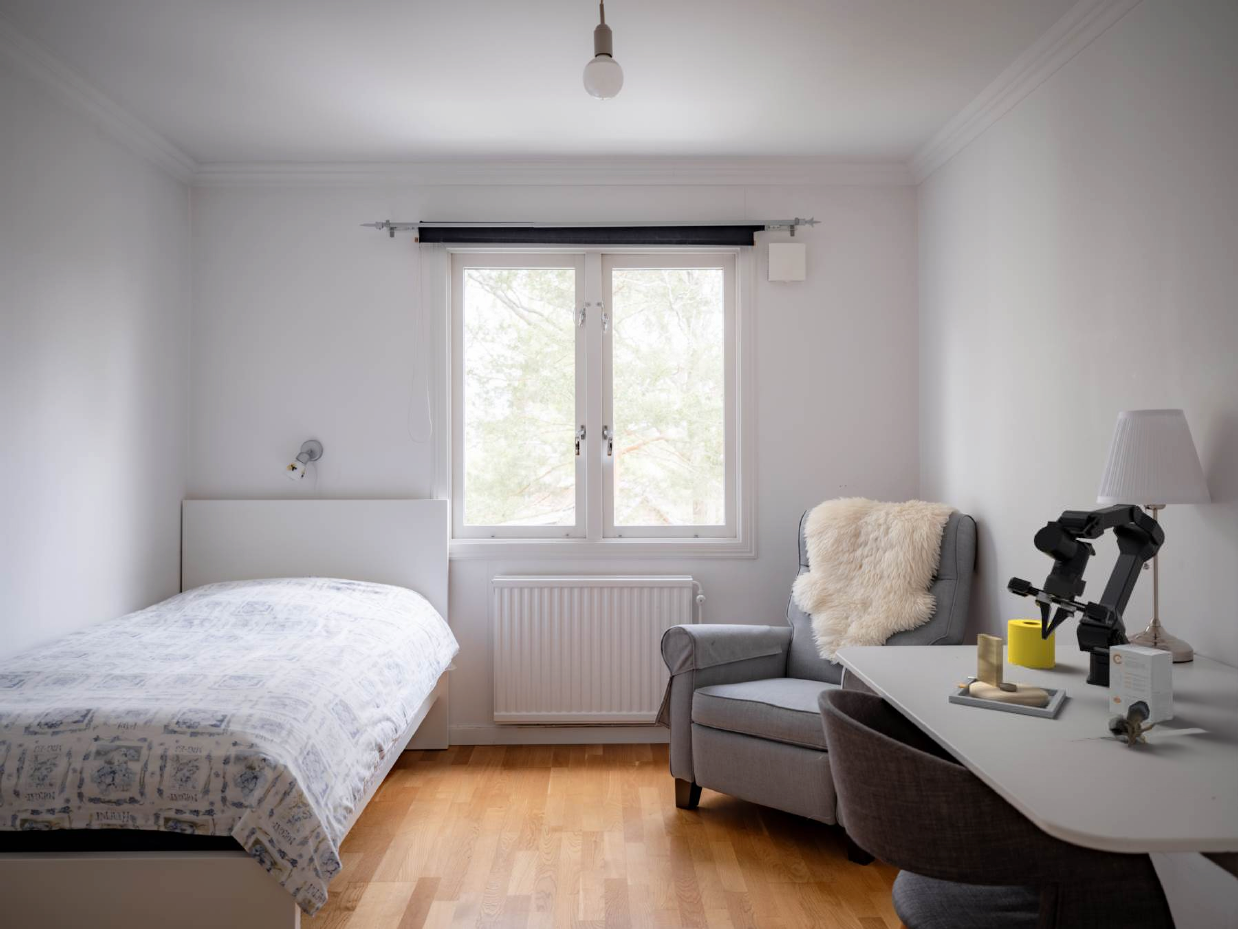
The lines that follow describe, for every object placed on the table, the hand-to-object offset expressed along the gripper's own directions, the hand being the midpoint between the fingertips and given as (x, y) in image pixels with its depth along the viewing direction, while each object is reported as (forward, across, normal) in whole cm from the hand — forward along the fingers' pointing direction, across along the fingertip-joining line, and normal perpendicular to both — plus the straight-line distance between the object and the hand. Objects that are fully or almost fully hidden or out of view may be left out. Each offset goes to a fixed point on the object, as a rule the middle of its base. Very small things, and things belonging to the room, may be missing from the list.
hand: (1043, 639), depth 173 cm
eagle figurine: (+14, +19, -20) cm, 31 cm away
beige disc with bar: (+14, -2, -8) cm, 16 cm away
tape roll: (+4, -4, +30) cm, 30 cm away
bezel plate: (+15, -2, -7) cm, 17 cm away
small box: (+9, +20, -6) cm, 23 cm away
